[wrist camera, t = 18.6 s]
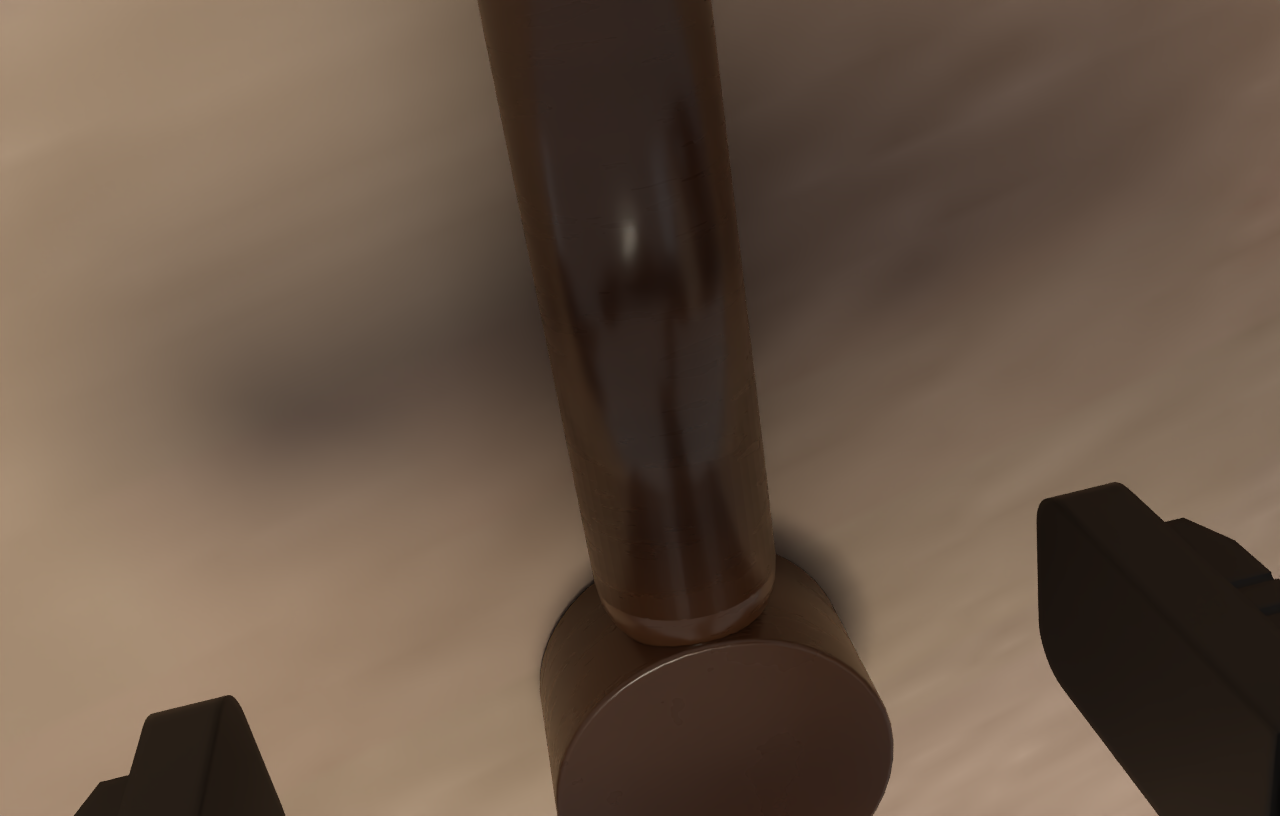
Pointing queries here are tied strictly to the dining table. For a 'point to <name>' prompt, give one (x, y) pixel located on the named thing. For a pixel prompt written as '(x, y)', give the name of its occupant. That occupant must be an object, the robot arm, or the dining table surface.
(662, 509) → the rod with round cap
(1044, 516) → the robot arm
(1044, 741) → the dining table surface
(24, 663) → the dining table surface
